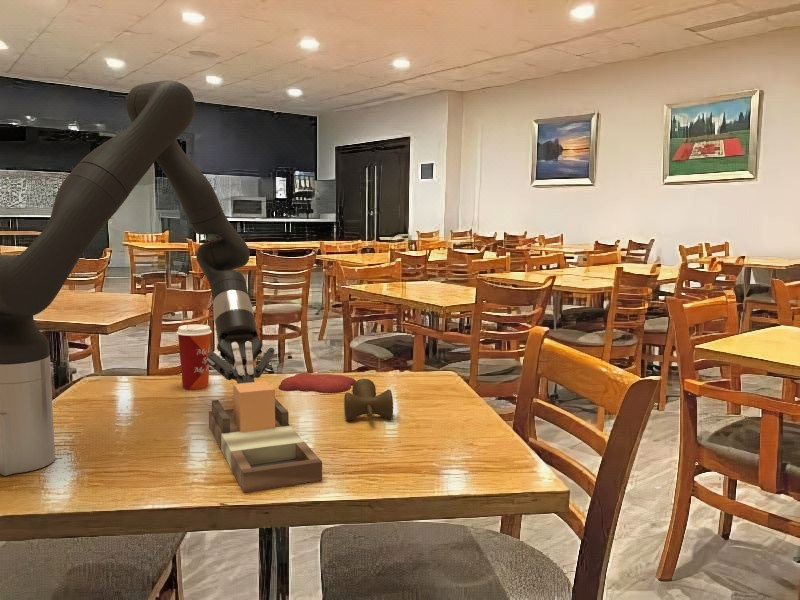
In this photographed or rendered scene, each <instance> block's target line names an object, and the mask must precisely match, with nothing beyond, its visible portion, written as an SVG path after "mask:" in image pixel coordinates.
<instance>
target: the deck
mask: <svg viewBox="0 0 800 600" xmlns="http://www.w3.org/2000/svg"><path fill="white" fill-rule="evenodd" d="M289 414H290V413H289V411H288V410H287V409H286V407H284V405H283V404H282V403H281V402H279V400H278V399H277V398H276V397H275V428H272V429H264V430H256V431H248V432H240V431H239V429H238V428H237V426H236V425H235V423H234V408H230V409H224V406H223V405H222V404H221V402H220V400H219V399H213V400H212V399H211V411H208V427H209V430H210V431H211V433H212V435H213V438H214V439H215V440H216V443H217V444H218V446H219V448H220V450H221V453H222V455H223V456H224V458H225V460H226V461H227V463H228V466H229V468H230V470H231V471H232V473H233V475H234V477H235V479H236V481H237V483H238V485H239V487H240V489H241V491H242V492H243V493H250V492H251V493H252V492H256V491H262V490H263V491H264V490H269V489H276V488H281V486H283V487H288V486H287V485H290V486H294V484H296V485H301V484H300V483H303V484H308V483H307V482H309V483H314V482H315V481H316V482H320V481H319V480H322V481H323V461H322V460H321V459H320V457H319V456H318V454H316V453H315V452H314V450H313V449H312V448H311V447H310V446H309V445H308V444H307V443H306V442H305V440H304V439H303V438H302V437H301V436H300V435H299V434H298V432H297V431H296V430H295V429H294V427H292V426H291V425H290V422H289V419H290V418H289V416H290V415H289Z"/></svg>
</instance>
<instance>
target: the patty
mask: <svg viewBox="0 0 800 600" xmlns="http://www.w3.org/2000/svg"><path fill="white" fill-rule="evenodd" d="M356 381H357V380H356V379H355V378H352V377H348V376H346V375H341V374H328V373H327V374H326V373H325V374H322V373H321V374H319V373H317V374H316V373H313V374H312V373H309V372H301V373H296V374H294V375H292V376H288V377H286V378H285V377H284V379H283V380H281V381H280V384H279V385H278V386H277V387H278V389H279V390H280V391H284V392H297V391H299V392H314V393H322V394H341V393H344V392H347V391H349V390H351V387H353V385H354V383H355V382H356Z"/></svg>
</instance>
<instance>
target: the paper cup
mask: <svg viewBox="0 0 800 600" xmlns="http://www.w3.org/2000/svg"><path fill="white" fill-rule="evenodd" d="M211 333H213V331H212V330H211V327H210V325H209V324H208V325H207V324H198V323H197V324H196V323H195V324H185V325H180V326H178V329H177V331H176V334H177V335H178V337H177V338H178V347H179V349H178V351H179V360H180V361H179V362H180V372H181V384H182V389H184V390H188V391H197V390H198V391H200V390H204V389H207V388H208V387H209V378H210V365H209V364H208V363H207V358H208V353H209V352H211Z"/></svg>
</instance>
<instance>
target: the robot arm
mask: <svg viewBox="0 0 800 600" xmlns="http://www.w3.org/2000/svg"><path fill="white" fill-rule="evenodd" d="M125 102H126V103H125V107H126V112H127V114H128V117H129V119H130V121H131V123H130V124H129V125H128V126H127V127H125V129H123V130H122V131H120V132H119V133H118V134H116V135H114V136H112V137H111V138H110V139H108V140H106V141H105V142H103V143H102V144H100V145H99V146H97V147H96V148H95V149H93V150H91V151H90V152H89V153H88V154H87V155H86V156H84V157H83V158H82V159H81V160H80V161H79V162H78V163H77V165H76V166H75V167H74V168H73V169H72V170H71V172H69V174H68V175H67V177H65V178H64V180H63V181H62V183H61V184H60V186H59V188H58V190H57V193H56V195H55V198H54V201H53V206H52V210H51V215H50V218H49V220H48V222H47V223H46V226H45V227H44V228H43V229H42V231H41V233H39V235H38V236H37V237H36V238H35V239H34V240H33V241H32V242H31V243H30V245H29V246H27V248H26V249H24V251H22V252H21V253H20V254H18V255H11V254H0V475H2V476H10V475H12V474H13V475H14V474H19V473H26V472H32V471H36V470H38V469H42V468H44V467H47V466H49V465H50V464H53V462H54V461H55V459H56V451H55V450H56V449H55V448H56V445H55V431H54V430H55V428H54V410H53V409H54V407H53V393H52V392H53V391H52V373H51V372H52V371H51V370H52V369H51V351H50V341H49V340H48V338H47V336H46V335H44V334H43V332H42V331H41V330H39V328H38V327H37V324H36V321H35V319H34V316H37V315H38V314H40V313H42V312H43V311H45V310H46V309H47V308H48V307H49V306H51V304H52V303H53V302H54V300H55V298H57V295H58V294H59V293H60V291H61V290H62V288H63V287H64V285H65V283H66V281H67V280H68V278H69V276H70V275H71V273H72V271H73V270H74V268H75V267H76V266H77V263H78V261H79V260H80V258H81V257H82V256H83V255H84V253H85V251H86V250H87V249H88V248H89V247H90V245H91V244H92V243H93V241H94V240H95V239H96V237H97V236H98V235H99V233H100V232H101V231H102V229H103V228H104V227H105V225H106V224H107V223H108V222H109V221H110V219H112V217H113V216H114V215H115V214H116V213H117V211H118V210H119V209H120V208H121V206H122V205H123V204H124V202H125V201H126V200H127V199H128V197H129V196H130V194H131V193H132V191H133V190H134V189H135V188H136V186H137V185H138V184H139V183H140V181H141V180H142V179H143V177H144V176H145V175H146V174H147V173H148V171H149V170H150V169H151V167H152V166H153V165H154V163H155V162H156V163H157V164H158V166H159V167H160V169H161V170H162V172H163V173H164V175H165V176H166V178H167V180H168V181H169V183H170V185H171V187H172V188H173V191H174V192H175V195H176V196H177V199H178V201H179V203H180V205H181V207H182V209H183V211H184V213H185V216H186V218H187V221H188V223H189V226H190V227H191V229H192V230H193V232H194V233H195V234H197V235H201V236H202V235H217V236H219V237H220V238H217V239H214V240H210V241H207V242H204V243H201V244H200V245H199V247H198V248H197V250H196V253H195V254H196V255H195V257H196V262H197V264H198V266H199V267H200V269H201V271H202V273H203V274H204V276H205V277H206V280H207V282H208V284H209V287H210V291H211V298H212V305H213V306H212V307H213V309H212V310H213V312H212V313H213V322H214V325H215V331H216V337H217V346H216V349H215V350H214V351H210V352H209V353H208V358H207V363H208V364H209V366H211V367H212V368H213V369H214V370H215V371H217V372H218V373H219V374H220V375H221V376H222V377H223V378H225V379H226V380H228V381H230V380H234V381H236V384H240V383H251V382H256V381H255V378H256V379H258V378H260V377H261V376H262V375H263V373H264V372H265V370H266V369H267V367H268V365H269V364H270V363H271V361H272V360H273V357H274V355H275V352H276V350H275V348H273V347H268V348H267V347H266V346H264V345H263V342H262V340H260V338H259V333H258V329H257V323H256V319H255V314H254V310H253V305H252V303H251V300H250V295H249V291H248V287H247V281H246V279H245V276H244V275H243V274H242V273H241V272H240V271H237V270H236V269H240V268H242V267H245V266H246V265H247V264H248V262H249V260H250V254H251V253H250V249H249V247H248V244H247V243H246V241H245V240H244V238H242V236H241V235H240V234H239V232H237V230H236V229H235V227H234V226H233V225H232V224H231V222H230V221H229V220H228V218H227V216H226V214H225V212H224V209H223V207H222V205H221V203H220V200H219V198H218V196H217V193H216V192H215V190H214V187H213V185H212V184H211V182H210V181H209V180H208V178H207V177H206V176H205V175H204V173H202V171H201V170H200V169H199V168H198V166H196V165H195V164H194V163H193V162H192V161H191V159H190V157H188V155H187V154H186V153H185V152H184V150H183V149H182V146H181V145H180V144H179V142H178V140H177V138H178V137H179V136H181V135H182V133H183V132H184V131H186V130H187V128H189V127H190V124H192V121H193V119H194V116H195V111H196V110H195V109H196V103H195V102H196V101H195V98H194V95H193V93H192V90H190V89H189V87H188V86H187V85H185V84H183V83H182V82H179V81H176V80H159V81H153V82H146V83H141V84H138V85H135V86H133V87H132V88H131V89H130V91H129V92H128V94H127V97H126V99H125ZM259 354H260V358H261V359H260V361H259V363H258V364H257V365H256V367H254V362H255V361H256V359H257V358H258V356H259Z"/></svg>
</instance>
